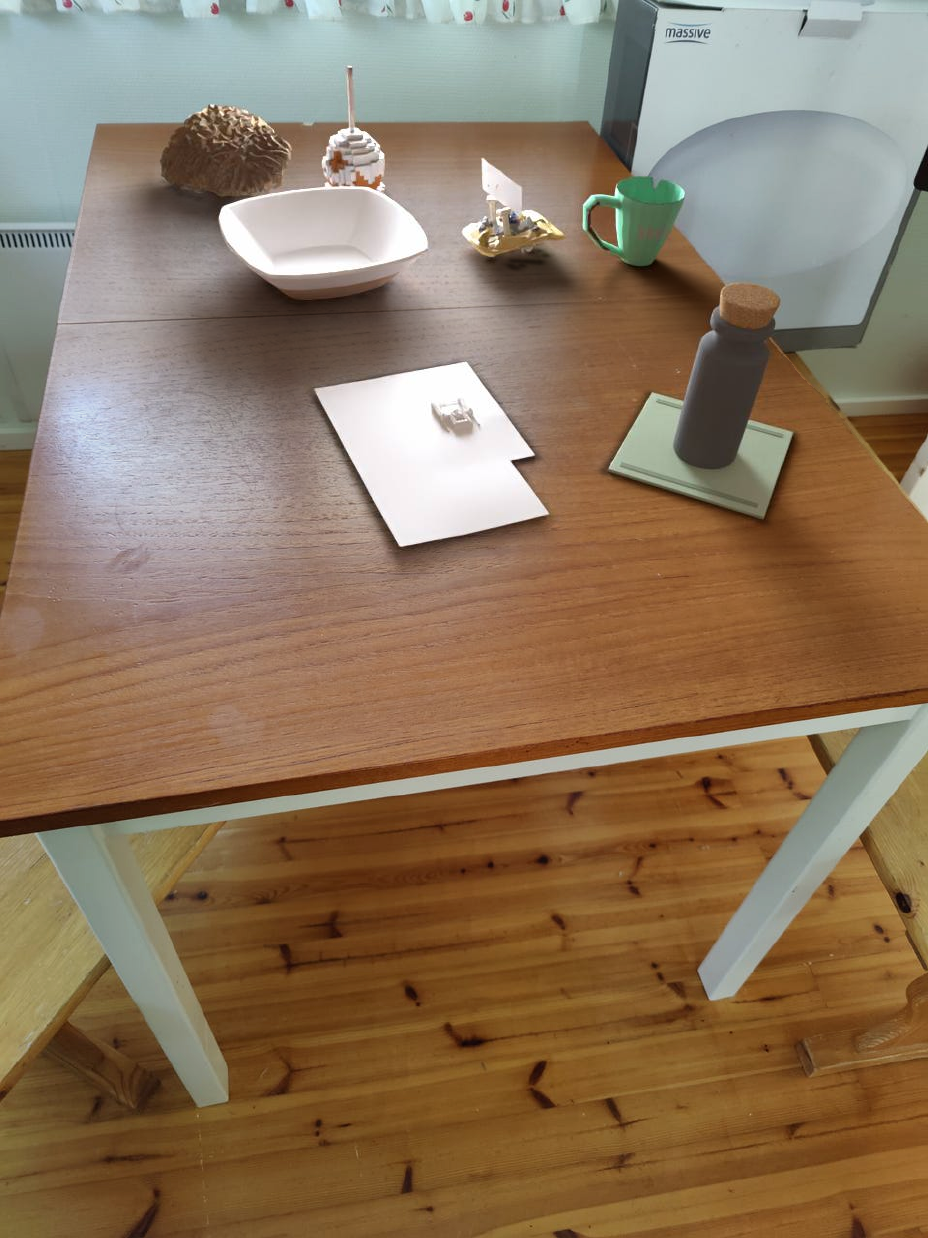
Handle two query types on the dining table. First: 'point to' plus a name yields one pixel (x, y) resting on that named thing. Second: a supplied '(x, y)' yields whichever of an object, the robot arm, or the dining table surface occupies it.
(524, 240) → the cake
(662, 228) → the mug
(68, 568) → the dining table surface
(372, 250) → the bowl
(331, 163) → the decorative ornament
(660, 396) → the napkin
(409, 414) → the paper
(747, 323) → the bottle
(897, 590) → the dining table surface
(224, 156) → the coral
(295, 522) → the dining table surface
